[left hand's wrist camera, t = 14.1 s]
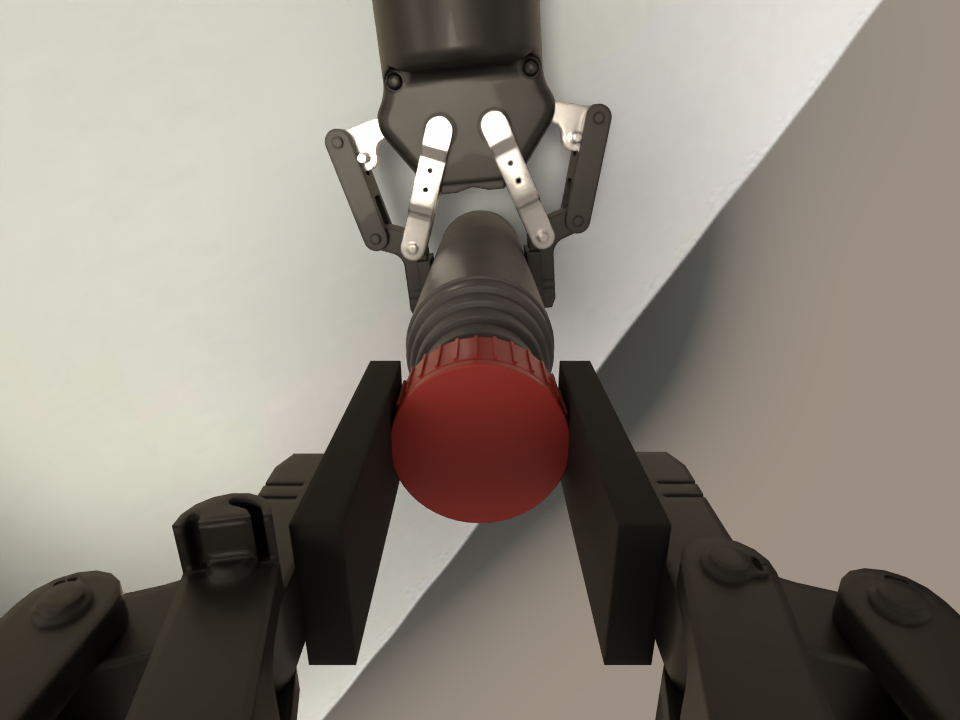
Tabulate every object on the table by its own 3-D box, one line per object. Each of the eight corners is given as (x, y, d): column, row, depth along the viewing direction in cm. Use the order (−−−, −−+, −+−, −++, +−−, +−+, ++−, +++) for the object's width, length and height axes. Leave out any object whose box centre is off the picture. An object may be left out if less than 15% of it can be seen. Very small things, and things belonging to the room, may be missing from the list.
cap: (533, 497, 15) (540, 542, 14) (382, 460, 15) (369, 502, 13) (584, 358, 14) (600, 390, 12) (419, 314, 14) (410, 339, 12)
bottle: (506, 297, 37) (548, 547, 14) (432, 277, 37) (353, 502, 14) (529, 223, 35) (618, 371, 13) (452, 200, 35) (399, 312, 12)
